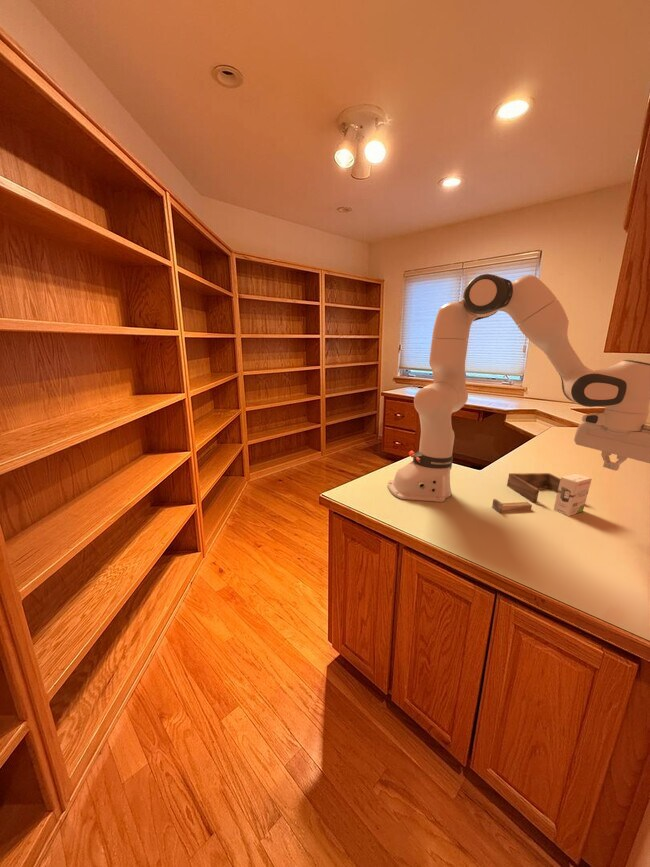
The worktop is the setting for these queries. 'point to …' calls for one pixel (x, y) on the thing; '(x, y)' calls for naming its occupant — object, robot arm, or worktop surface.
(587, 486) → the ink box
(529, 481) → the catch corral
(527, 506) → the beech bar
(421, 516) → the worktop surface
